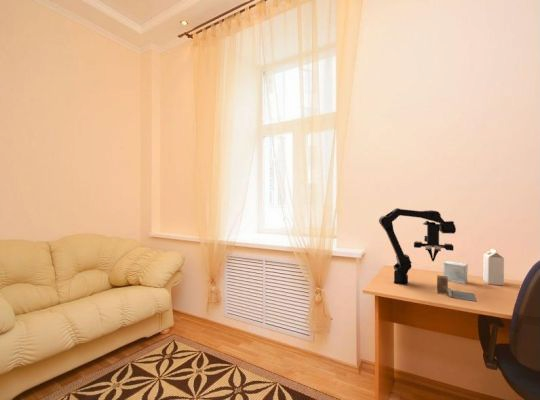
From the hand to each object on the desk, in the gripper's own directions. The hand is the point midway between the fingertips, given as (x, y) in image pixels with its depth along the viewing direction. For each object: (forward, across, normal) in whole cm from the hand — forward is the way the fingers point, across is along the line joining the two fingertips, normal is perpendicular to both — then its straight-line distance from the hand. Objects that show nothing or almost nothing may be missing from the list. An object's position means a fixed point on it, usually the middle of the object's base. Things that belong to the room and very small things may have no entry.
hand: (432, 261), depth 154 cm
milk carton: (+13, -29, -19) cm, 37 cm away
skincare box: (+13, -11, -13) cm, 22 cm away
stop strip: (+13, -7, +13) cm, 19 cm away
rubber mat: (+13, -13, +13) cm, 22 cm away
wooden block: (+13, -4, +13) cm, 19 cm away
